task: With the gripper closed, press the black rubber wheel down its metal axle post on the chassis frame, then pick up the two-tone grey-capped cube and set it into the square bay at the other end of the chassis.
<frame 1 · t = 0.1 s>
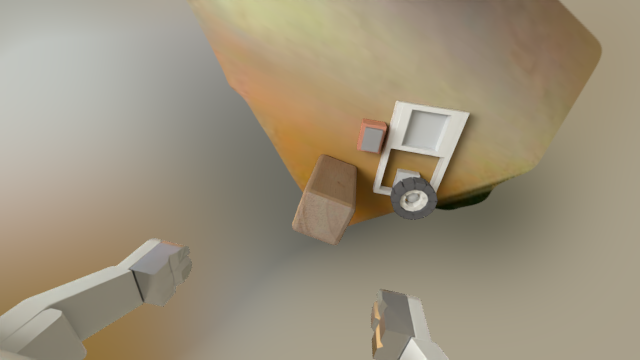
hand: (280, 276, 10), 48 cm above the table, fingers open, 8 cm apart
chassis: (414, 153, 54), on the table
wooden block: (333, 175, 60), on the table
wheel: (412, 198, 49), point 9 cm above the table, slide at 3.5 cm
two-tone grey-capped cube: (370, 132, 54), on the table
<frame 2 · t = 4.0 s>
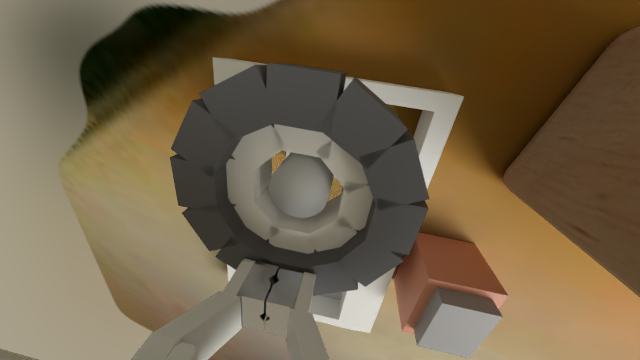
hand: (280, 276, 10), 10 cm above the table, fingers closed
chassis: (315, 211, 20), on the table
wooden block: (614, 141, 14), on the table
wheel: (300, 188, 9), point 9 cm above the table, slide at 2.7 cm, touching gripper
two-tone grey-capped cube: (431, 262, 21), on the table
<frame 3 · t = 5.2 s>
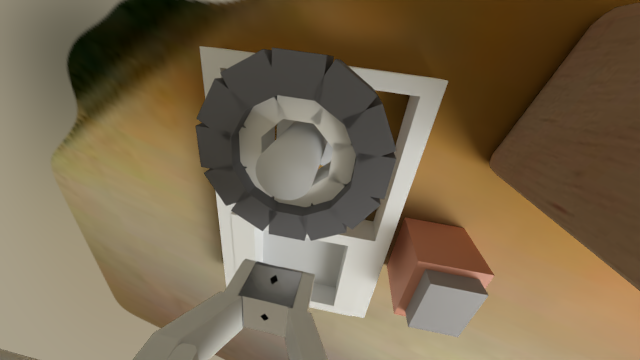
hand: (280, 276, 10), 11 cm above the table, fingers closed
chassis: (308, 200, 20), on the table
wooden block: (596, 123, 15), on the table
wheel: (298, 152, 12), point 6 cm above the table, slide at 0.4 cm
two-tone grey-capped cube: (422, 247, 21), on the table
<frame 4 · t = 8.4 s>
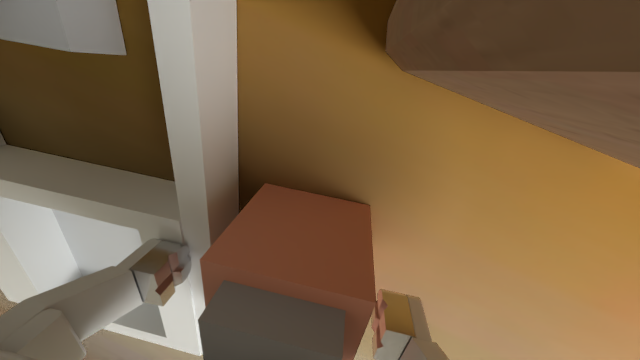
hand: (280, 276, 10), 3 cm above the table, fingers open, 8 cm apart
chassis: (101, 148, 11), on the table
two-tone grey-capped cube: (308, 242, 12), on the table
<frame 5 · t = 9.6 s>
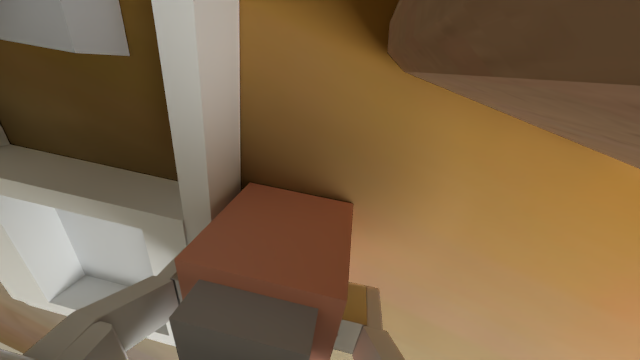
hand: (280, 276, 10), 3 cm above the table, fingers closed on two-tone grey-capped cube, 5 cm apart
chassis: (104, 148, 12), on the table
two-tone grey-capped cube: (294, 241, 12), on the table, touching gripper
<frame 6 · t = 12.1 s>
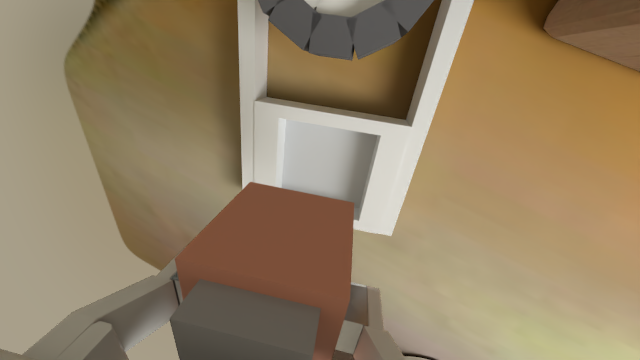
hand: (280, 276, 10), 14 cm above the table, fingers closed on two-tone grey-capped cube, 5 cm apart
chassis: (336, 95, 19), on the table
two-tone grey-capped cube: (295, 241, 12), point 11 cm above the table, touching gripper
when the fingers open (4 cm above the table, at t = 14.1 s): two-tone grey-capped cube stays where it is, resting on chassis.
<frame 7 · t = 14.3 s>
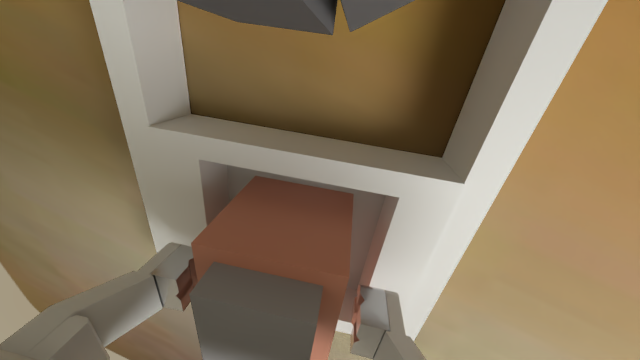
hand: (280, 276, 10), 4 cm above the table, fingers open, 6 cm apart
chassis: (313, 113, 10), on the table
two-tone grey-capped cube: (298, 231, 13), resting on chassis
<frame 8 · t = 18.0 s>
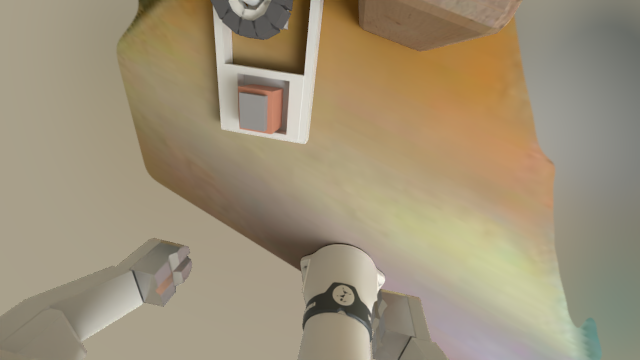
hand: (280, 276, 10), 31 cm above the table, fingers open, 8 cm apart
chassis: (269, 62, 35), on the table
two-tone grey-capped cube: (267, 105, 37), resting on chassis
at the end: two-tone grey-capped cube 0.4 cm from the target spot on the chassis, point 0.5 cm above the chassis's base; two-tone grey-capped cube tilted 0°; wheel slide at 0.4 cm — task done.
